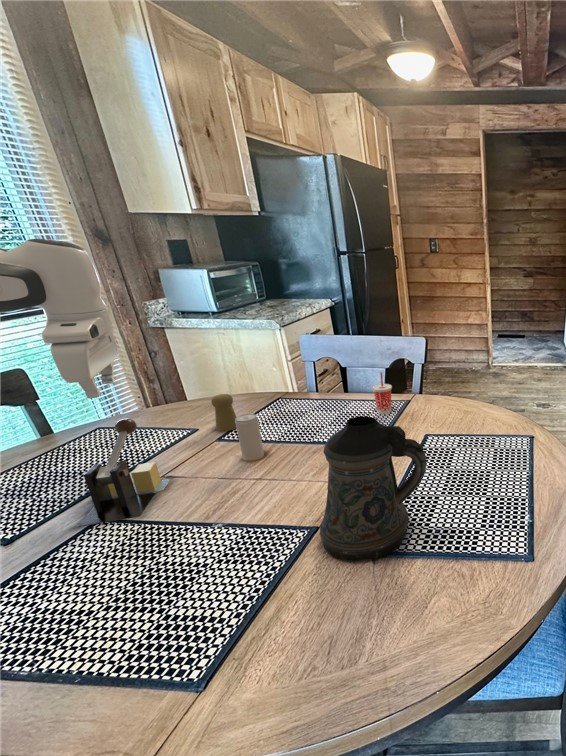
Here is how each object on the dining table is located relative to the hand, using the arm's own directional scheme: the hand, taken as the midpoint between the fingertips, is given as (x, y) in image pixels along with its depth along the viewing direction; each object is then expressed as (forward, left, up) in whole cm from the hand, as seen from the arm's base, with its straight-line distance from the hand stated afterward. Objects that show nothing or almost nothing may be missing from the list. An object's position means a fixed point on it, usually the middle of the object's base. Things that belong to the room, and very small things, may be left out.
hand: (102, 389), depth 88 cm
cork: (+14, +27, -24) cm, 39 cm away
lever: (+2, -4, -14) cm, 14 cm away
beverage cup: (+59, +27, -24) cm, 69 cm away
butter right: (+4, -3, -23) cm, 23 cm away
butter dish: (+2, -3, -24) cm, 24 cm away
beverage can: (+24, +5, -24) cm, 34 cm away
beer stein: (+51, -35, -24) cm, 66 cm away
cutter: (+2, -11, -24) cm, 26 cm away
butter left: (-1, -3, -23) cm, 23 cm away
